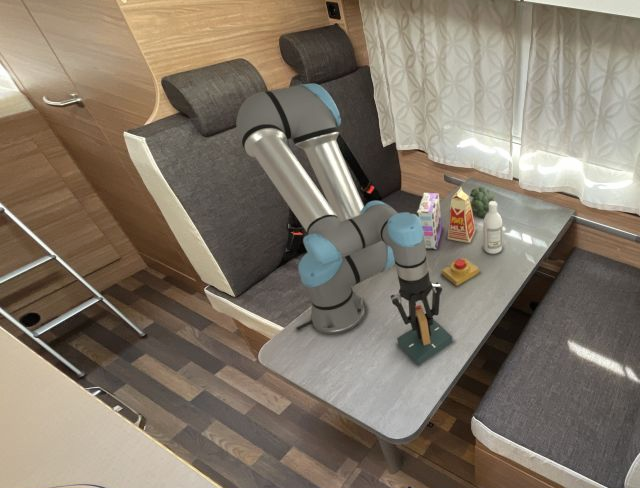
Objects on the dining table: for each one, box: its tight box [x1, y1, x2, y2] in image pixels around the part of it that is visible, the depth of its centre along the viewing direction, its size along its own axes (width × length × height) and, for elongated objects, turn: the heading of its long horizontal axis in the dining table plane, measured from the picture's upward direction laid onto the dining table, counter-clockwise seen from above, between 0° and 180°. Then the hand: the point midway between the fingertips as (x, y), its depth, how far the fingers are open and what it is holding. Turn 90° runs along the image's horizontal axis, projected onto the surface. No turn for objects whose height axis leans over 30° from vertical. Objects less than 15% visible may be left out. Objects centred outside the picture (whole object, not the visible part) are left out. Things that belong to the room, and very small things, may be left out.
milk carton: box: [447, 186, 476, 244], centre depth 152 cm, size 9×9×20 cm
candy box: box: [416, 192, 443, 250], centre depth 150 cm, size 14×6×16 cm, turn 179°
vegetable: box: [469, 186, 495, 219], centre depth 167 cm, size 12×13×15 cm
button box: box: [441, 257, 480, 287], centre depth 140 cm, size 10×8×4 cm
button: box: [454, 258, 466, 269], centre depth 138 cm, size 4×4×2 cm
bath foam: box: [482, 200, 504, 255], centre depth 146 cm, size 7×7×20 cm
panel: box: [396, 318, 453, 366], centre depth 116 cm, size 12×10×3 cm
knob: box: [415, 304, 431, 345], centre depth 112 cm, size 6×2×10 cm, turn 25°
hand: (423, 333), depth 114 cm, fingers closed on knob, 2 cm apart
